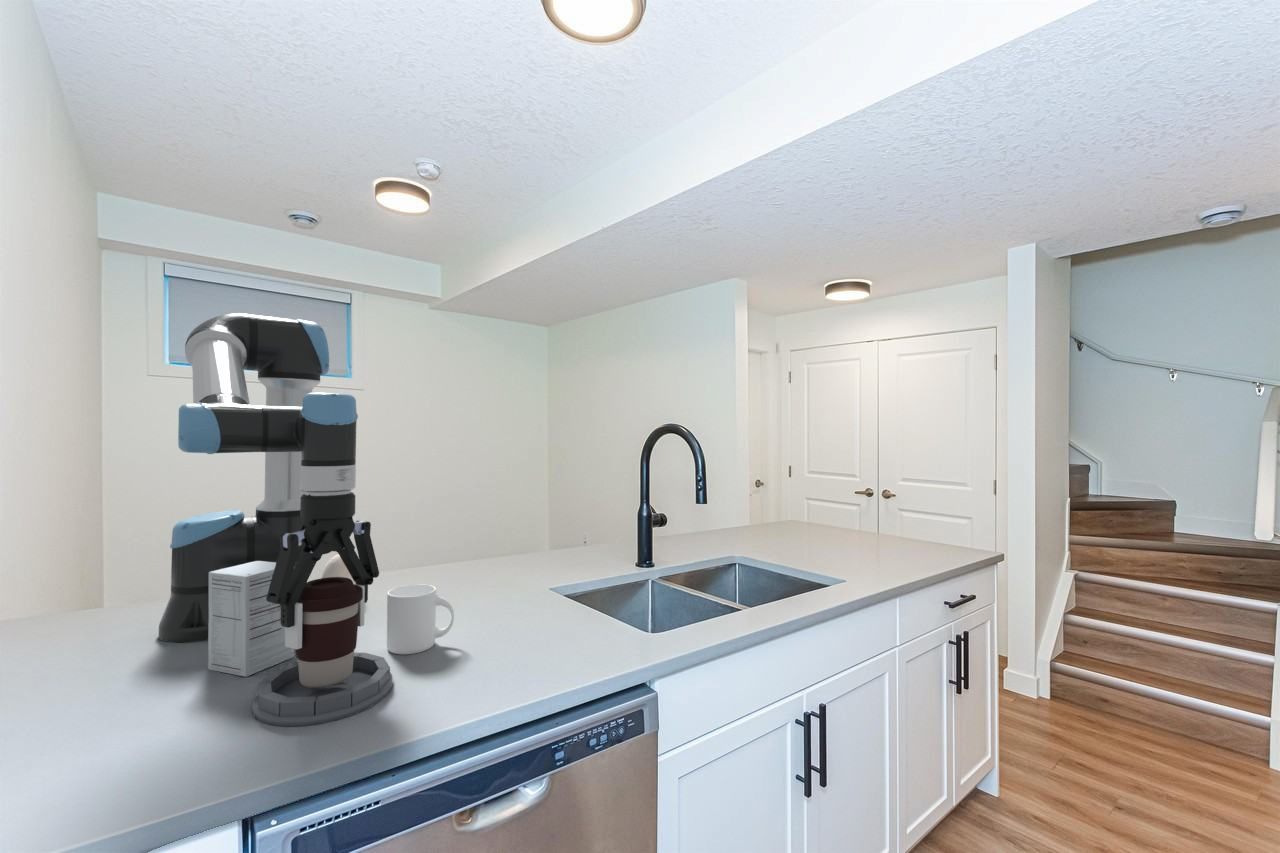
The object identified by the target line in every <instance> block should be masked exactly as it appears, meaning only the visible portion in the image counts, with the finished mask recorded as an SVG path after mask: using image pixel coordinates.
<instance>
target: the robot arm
mask: <svg viewBox="0 0 1280 853" xmlns="http://www.w3.org/2000/svg"><path fill="white" fill-rule="evenodd" d="M326 335H327V334H326V333H325V330H324V328H323V327H322V326H321V325H320V324H319V323H317V322H315V321H310V320H304V319H300V318H292V317H291V318H288V317H279V316H270V315H269V316H268V315H257V314H249V313H241V312H238V313H235V312H234V313H226V314H221V315H218V316H214V317H212V318H209V319H207V320H205V321H203V322H201V323H200V324H198V325H197V326H196V327H194V329H192V331H191V332H189V335H188V337H187V338H186V341H185V345H184V354H185V358H186V360H187V362H188V364H189V365H190V366H191V367H192V399H193V400H192V401H193V402H192V403H185V404H182V405H180V407H178V429H177V430H178V434H177V435H178V444H177V445H178V448H179V449H180V451H182V452H184V453H189V454H194V453H195V454H207V455H212V454H231V453H233V454H234V453H237V454H238V453H239V454H240V453H264V456H265V457H264V459H265V460H264V498H263V500H262V501H261V502H260V503H259V504H257V506H256V507H255V516H245V514H244V512H243V511H242V510H238V509H235V510H222V511H221V510H220V511H215V512H210V513H209V512H208V513H205V514H199V515H195V516H191V517H188V518H185V519H184V518H183V519H182V520H180V521H178V522H177V523H175V525H174V526H173V528H172V530H171V531H172V532H171V543H170V545H169V548H170V549H171V566H170V567H171V569H170V570H171V571H170V572H171V573H170V595H169V596H170V597H169V600H168V602H167V604H166V607H165V608H164V612H163V614H162V617H161V620H160V621H159V624H158V639H159V640H160V641H163V642H169V643H170V642H171V643H189V642H199V641H205V640H208V626H209V572H211V571H215V570H219V569H224V568H228V567H233V566H237V565H241V564H245V563H249V562H254V561H266V562H275V563H276V566H275V569H274V573H273V576H272V580H271V583H270V587H269V590H268V594H267V597H266V600H267V601H268V602H271V603H275V604H280V606H281V625H282V626H283V627H285V646H286V647H290V648H293V649H294V650H296V649H300V648H302V606H303V604H302V603H298V602H297V601H298V599H299V597H300V595H301V593H302V591H303V589H304V587H305V584H306V582H308V580H309V578H310V576H311V574H312V572H313V570H314V569H315V566H316V565H317V562H319V561H320V560H321V558H322V557H323V555H327V554H330V553H332V552H336V553H337V555H338V554H339V555H340V557H341V559H342V561H343V562H344V564H345V566H346V568H347V569H348V571H349V573H350V575H351V577H352V578H353V580H354V582H356V584H354V583H353V584H354V585H357V586H360V587H361V588H362V589H363V598H362V600H361V601H360V602H358V611H359V619H358V627H363V626H365V607H366V606H365V604H367V603H368V599H369V593H368V592H369V585H372V584H374V583H373V582H374V579H375V578H376V579H377V578H378V577H379V575H380V570H379V566H378V562H377V559H376V558H377V557H376V553H375V550H374V546H373V542H372V538H371V529H372V528H371V522H370V521H366V520H355V521H354V519H353V517H354V516H355V515H356V494H355V493H354V492H352V491H353V490H354V489H355V488H356V478H357V476H356V474H357V472H356V471H357V470H356V468H357V466H356V465H357V464H356V461H357V460H356V458H357V420H358V418H359V416H358V415H359V414H358V413H357V399H356V397H354V395H352V394H348V393H335V392H332V393H331V392H313V390H314V388H315V387H317V386H318V385H320V383H321V376H325V375H327V374H328V373H329V370H330V351H329V343H328V340H327V336H326ZM244 370H247V371H256V372H257V381H259V382H260V383H261V384H262V385H263V386H264V388H265V389H266V391H265V405H257V404H256V405H254V404H253V405H251V402H250V398H249V393H248V388H247V381H246V375H245V371H244ZM352 534H353V538H354V542H352V541H353V540H352V539H351V538H350V537H351V536H352ZM354 543H355V545H354ZM355 549H356V550H355ZM356 551H357V552H356ZM294 566H295V568H294Z"/></svg>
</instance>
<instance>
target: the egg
mask: <svg viewBox="0 0 1280 853" xmlns="http://www.w3.org/2000/svg"><path fill="white" fill-rule="evenodd" d="M321 573H322V574H321V578H328V577H345V578H349V579H351V580H352V582H353V583H354V584H356V582H354V580H353V578H352V577H351V575H350V573H349V571H348V569H347V568H346V566H345V564H344V562H343V561H342V559H341V557H340V555H339V554H338V553H337V554H336V555H334V556H333V557H331V558H330V559H329V560H328V561H327V563H326V565H325V566H324V569H323V570H322V572H321Z"/></svg>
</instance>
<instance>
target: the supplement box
mask: <svg viewBox="0 0 1280 853" xmlns="http://www.w3.org/2000/svg"><path fill="white" fill-rule="evenodd" d="M275 566H276V563H275V562H266V561H254V562H249V563H245V564H241V565H237V566H233V567H228V568H224V569H219V570H215V571H211V572H209V626H208V639H207V640H208V644H207V646H208V651H207V655H208V657H207V662H208V663H207V664H208V665H207V667H208V670H210V671H214V672H221V673H225V674H229V675H235V676H241V677H245V678H246V677H249V676H251V675H253V674H256V673H259V672H261V671H264V670H266V669H268V668H272V667H273V666H276V665H278V664H281V663H282V662H283V663H284V662H285V661H287V660H290V659H293V658H294V657H295V649H293V648H290V647H286V646H285V627H283V626H282V625H281V606H280V604H275V603H271V602H268V601H267V600H266V597H267V594H268V590H269V587H270V583H271V580H272V576H273V573H274V569H275ZM294 568H295V566H294Z"/></svg>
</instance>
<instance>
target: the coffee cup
mask: <svg viewBox="0 0 1280 853" xmlns="http://www.w3.org/2000/svg"><path fill="white" fill-rule="evenodd" d="M362 598H363V589H362V588H361V587H360V586H357V585H354V584H353V582H352V580H351V579H349V578H345V577H328V578H322V577H320V578H316V579H313V580H310V581H307V582H306V584H305V587H304V589H303V591H302V593H301V595H300V597H299V599H298V601H297V602H298V603H302V604H303V606H302V648H300V649H295V658H296V659H297V662H298V668H299V681H300V683H301V684H302V685H303V686H305V687H310V688H319V687H327V686H332V685H335V684H338V683H340V682H343V681H344V680H346V679H348V678H349V677H350V676H351V674H352V671H353V660H354V653H355V649H356V648H357V640H358V629H359V628H358V627H359V626H358V619H359V611H358V602H360V601H361V600H362Z"/></svg>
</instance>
